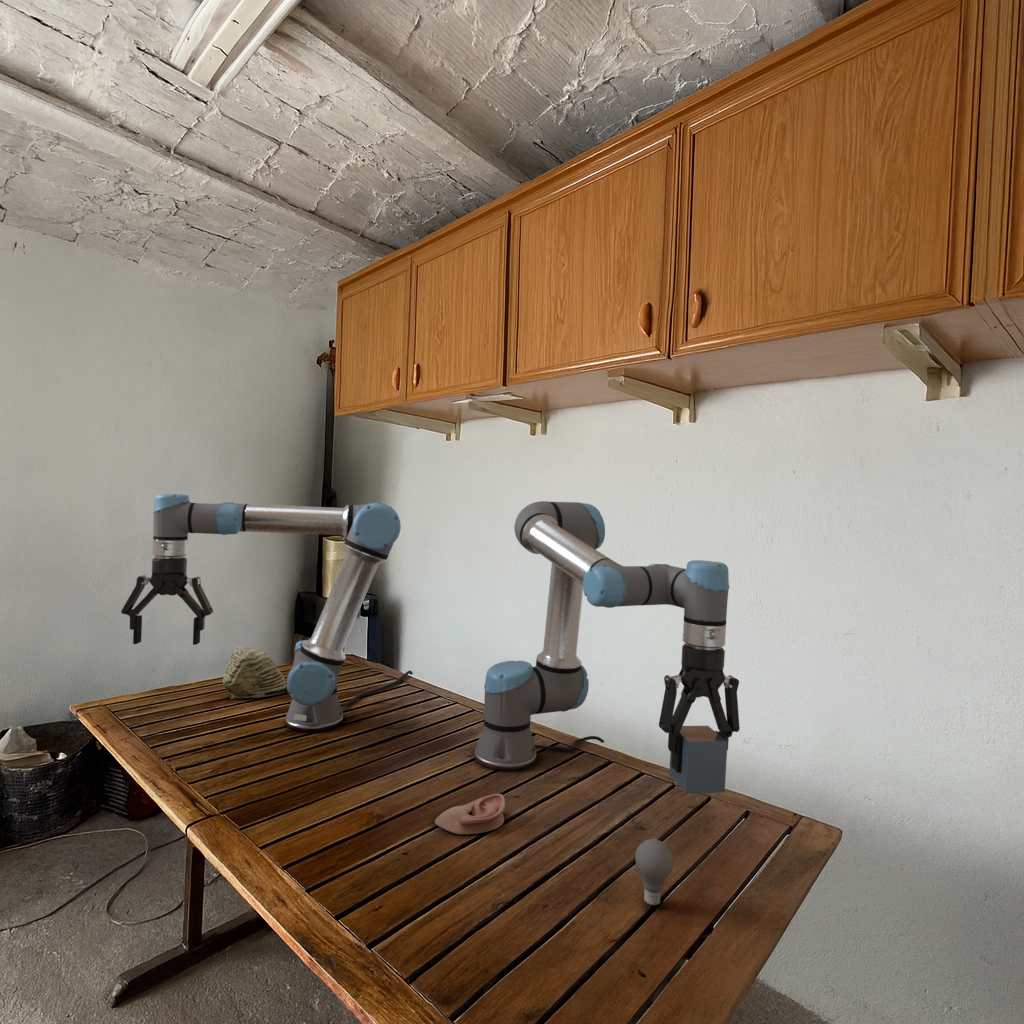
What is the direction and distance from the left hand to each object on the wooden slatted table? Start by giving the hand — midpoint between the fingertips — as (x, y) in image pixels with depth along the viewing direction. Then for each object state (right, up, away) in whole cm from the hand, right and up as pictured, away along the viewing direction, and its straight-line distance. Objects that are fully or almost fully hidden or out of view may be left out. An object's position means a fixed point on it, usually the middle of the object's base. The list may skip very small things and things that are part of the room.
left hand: (166, 643), depth 155 cm
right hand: (+119, -15, -39) cm, 126 cm away
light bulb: (+107, -31, -53) cm, 124 cm away
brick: (+119, -18, -39) cm, 126 cm away
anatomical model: (+76, -30, -29) cm, 87 cm away
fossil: (+4, -25, +43) cm, 50 cm away
